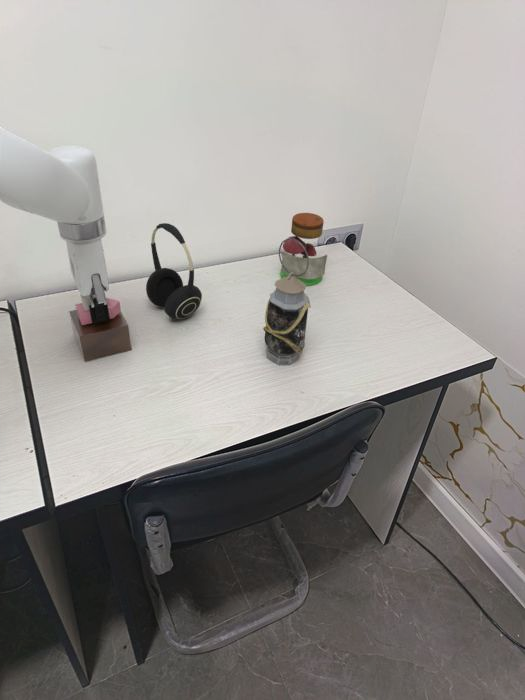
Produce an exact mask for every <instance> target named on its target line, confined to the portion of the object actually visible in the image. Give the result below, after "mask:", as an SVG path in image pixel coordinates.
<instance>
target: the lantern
mask: <svg viewBox="0 0 525 700" xmlns="http://www.w3.org/2000/svg"><path fill="white" fill-rule="evenodd" d="M287 238H288V239H287ZM287 238H286V239H284V240H282V241H281V243H280V245H279V248H278V258H279V259H278V260H279V262H280V264H281V267H282V266H283V268H284V269H285V270H286V271H287V272H288V273H289V274H290V275H289V276H288V277H285V278H282V277H281V278H279V279H277V280H276V281H275V282H274V286H275V289H274V291H273V292H271V293H270V294H269V298H268V300H267V304H266V310H265V316H264V322H265V323H264V324H265V326H263V331H264V343H265V345H266V358H267V359H268V360H270V361H271V362H273V363H275V364H276V365H277V366H290V365H292V364H293V363H296V361H298V360H300V356H301V354H302V353H303V351H304V348H305V343H306V342H305V340H306V332H307V323H308V322H307V321H308V315H309V309H310V308H311V301H310V298H309V296H308V295H307V294H306V293H305V290H306V289H307V286H306V284H305V283H303V282H302V281H300V280H298V279H297V278H295V277H294V276H302V275H304V274H305V273H306V271H307V269H308V266H309V257H310V256H308V254H307V251H306V249H305V248H304V246H303V245H302V244H301V243H300V242H299V241H297V240H296V239H292V238H289V237H287ZM287 240H294V241H296V242H298V243H299V244H300V245H301V246H302V247H303V249H304V251H305V253H306V256H307V268H306V270H305V272H304V273H302V274H300V275H295V274H294V273H293V272H291V273H290V272H289V271H288V270H287V269H286V268H285V267H284V265H283V263H282V255H281V253H280V251H282V247H283V244H284V242H285V241H287Z"/></svg>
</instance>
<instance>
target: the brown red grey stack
mask: <svg viewBox="0 0 525 700" xmlns="http://www.w3.org/2000/svg"><path fill="white" fill-rule="evenodd" d="M324 222H325V221H324V219H323V217H321V216H320V215H319V214H315V213H311V212H300V213H296V214H294V215H293V216H292V218H291V227H290V228H291V229H290V233H291V234H292V235H293V236H289V237H287V238H286V239H288V238H292V239H296V240H297V241H299V242H300V243H301V244H302V245H303V246H304V248H305V249H306V251H307V254H308V257H310V258H309V266H308V269H307V271H306V273H305V274H304V275H302V276H294V277H295V278H297V279H298V280H300V281H302V282H303V283H305V284H306V287H308V286H313V285H316V284H318V283H320V282H321V281H322V279H323V275H325V272H326V264H327V260H328V259H327V258H328V254H324V255H323V256H319V257H315V256H317V250H316V248H315V246H314V245H313V244H312V243H310V242H309V243H308V242H307V243H306V242H305V241H303V240H302V239H304V240H315V239H318V238H320V237H322V234H323V228H324ZM282 249H283V251H282V250H280V255H281V260H282V263H283V265H284V267H285V268H286V269H287V270H288V271H289V272H290V273H291V272H293V273H294V274H295V275H300V274H302V273H304V272H305V270H306V268H307V256H306V253H305V251H304V249H303V247H302V246H301V245H300V244H299V243H298V242H296V241H294V240H287V241H285V242H284V243H283V244H282ZM300 254H301V255H302V257H301V256H297V255H300ZM279 275H280V277H281V278H285V277H288V276H289V275H290V274H289V273H288V272H287V271H286V270H285V269H284V268H283V266H282V265H281V268H280V271H279Z"/></svg>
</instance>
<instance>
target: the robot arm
mask: <svg viewBox="0 0 525 700" xmlns="http://www.w3.org/2000/svg"><path fill="white" fill-rule="evenodd" d="M98 172H99V171H98V166H97V159H96V156H95V154H94V152H92V150H91V149H89V148H88V147H85V146H81V145H74V144H69V145H67V144H66V145H59V146H56V147H51V148H50V149H48V150H45V149H43V148H42V147H40V146H38V145H36V144H34V143H32V142H31V141H29V140H27V139H25V138H23V137H21V136H19V135H17V134H15V133H13V132H11V131H9V130H7V129H5V128H4V127H1V126H0V201H1V202H2V203H4V204H5V205H7V206H9V207H12V208H14V209H17V210H19V211H23V212H26V213H30V214H34V215H36V216H40V217H43V218H46V219H49V220H50V221H55V222H56V223H57V224H56V225H57V228H58V233H59V237H60V239H62V240H63V241H65V243H66V250H67V255H68V261H69V268H70V273H71V276H72V279H73V281H74V283H75V285H76V288H77V290H78V292H79V295H80V294H81V295H82V296H84V297H85V296H87V295H88V296H89V301H90V305H89V309H90V315H91V320H92V323H93V324H99V323H103V322H107V321H109V320H110V317H109V311H108V305H107V302H106V298H107V297H106V293H107V292H109V290H110V282H109V275H108V269H107V263H106V257H105V252H104V251H105V250H104V247H103V241H102V239H103V238H104V237H105V236H106V235H107V227H106V220H105V213H104V205H103V200H102V194H101V193H102V191H101V186H100V179H99V173H98ZM105 292H106V293H105ZM94 294H95V295H96V298H94V299H93V296H92V295H94Z"/></svg>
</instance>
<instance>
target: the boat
mask: <svg viewBox="0 0 525 700" xmlns="http://www.w3.org/2000/svg"><path fill="white" fill-rule="evenodd" d="M79 296H80V303H76V304H75V305H74V306H75V310H77V315H78V317H79V319H80V322H81V324H82V325H86V324H90V323H92V320H91V315H90V309H89V305H90V301H89V296H88V295H87V296H85V297H84V296H82V295H81V294H80V293H79ZM92 296H93V299H94V298H96V295H95V294H94V295H92ZM106 302H107V305H108V311H109V317H110V319H112V318H114V317H115V316H116V315H117V314H118V313H119V312H120V311H121V312H122V308H121V301H120V300H118V299H114V298H111V297H106Z"/></svg>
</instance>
